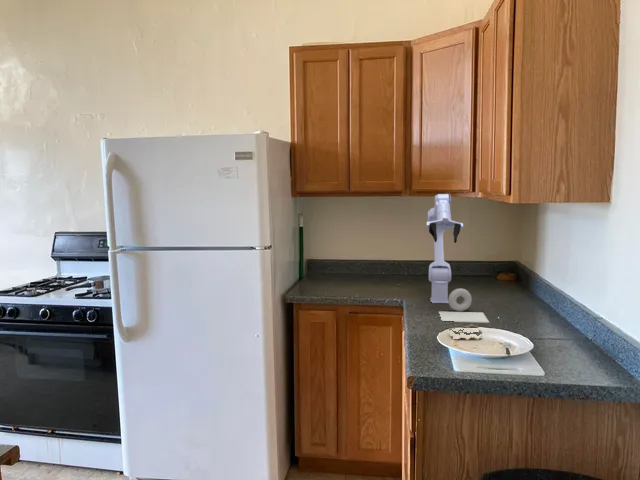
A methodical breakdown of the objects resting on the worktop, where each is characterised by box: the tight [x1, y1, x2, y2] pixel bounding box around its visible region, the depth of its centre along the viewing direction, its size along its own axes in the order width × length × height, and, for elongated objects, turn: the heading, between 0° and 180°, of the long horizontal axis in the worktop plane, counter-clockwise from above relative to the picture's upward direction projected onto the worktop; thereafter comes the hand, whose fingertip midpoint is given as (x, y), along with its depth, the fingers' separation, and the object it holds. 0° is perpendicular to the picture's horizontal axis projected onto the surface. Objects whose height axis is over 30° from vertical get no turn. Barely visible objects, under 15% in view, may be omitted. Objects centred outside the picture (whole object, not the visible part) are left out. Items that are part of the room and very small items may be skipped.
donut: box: [448, 288, 473, 312], centre depth 207 cm, size 10×4×10 cm, turn 94°
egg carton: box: [448, 323, 483, 336], centre depth 173 cm, size 11×8×4 cm
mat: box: [438, 311, 490, 324], centre depth 198 cm, size 14×18×1 cm
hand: (445, 240), depth 195 cm, fingers open, 7 cm apart
